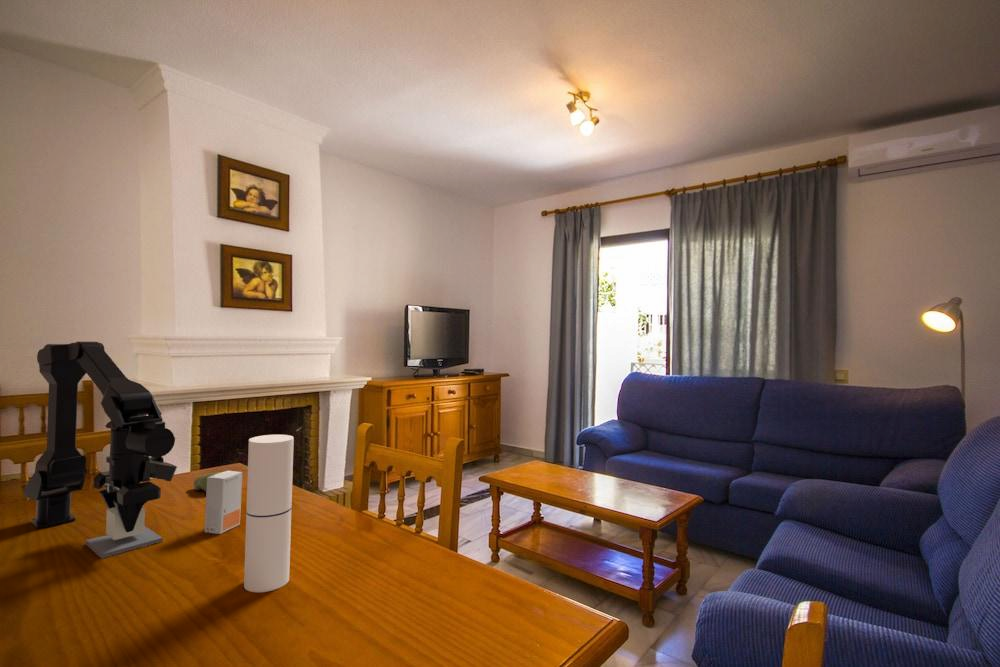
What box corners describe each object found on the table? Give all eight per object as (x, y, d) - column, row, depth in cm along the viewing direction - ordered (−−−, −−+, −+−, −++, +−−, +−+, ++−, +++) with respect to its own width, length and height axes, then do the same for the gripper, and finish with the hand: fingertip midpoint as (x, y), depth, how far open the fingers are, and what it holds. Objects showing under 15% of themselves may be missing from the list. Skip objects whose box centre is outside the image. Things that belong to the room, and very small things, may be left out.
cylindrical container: (244, 596, 81) (249, 444, 81) (244, 576, 87) (248, 436, 88) (290, 586, 84) (295, 441, 85) (287, 569, 91) (291, 433, 91)
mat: (85, 544, 99) (86, 540, 99) (144, 529, 107) (144, 525, 107) (101, 558, 93) (101, 554, 93) (162, 541, 101) (162, 537, 101)
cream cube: (105, 533, 99) (106, 508, 99) (135, 526, 103) (136, 502, 103) (114, 540, 96) (115, 514, 96) (144, 532, 100) (145, 508, 100)
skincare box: (220, 535, 105) (222, 478, 105) (203, 532, 106) (205, 477, 106) (241, 524, 111) (243, 471, 111) (224, 522, 112) (226, 470, 112)
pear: (209, 475, 129) (187, 475, 134) (210, 495, 129) (188, 495, 133) (229, 470, 134) (207, 471, 139) (231, 490, 134) (208, 490, 138)
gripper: (190, 452, 101) (188, 528, 101) (155, 438, 112) (153, 507, 112) (125, 462, 92) (122, 545, 92) (94, 446, 103) (91, 521, 103)
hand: (124, 528), depth 100 cm, fingers closed on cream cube, 5 cm apart
